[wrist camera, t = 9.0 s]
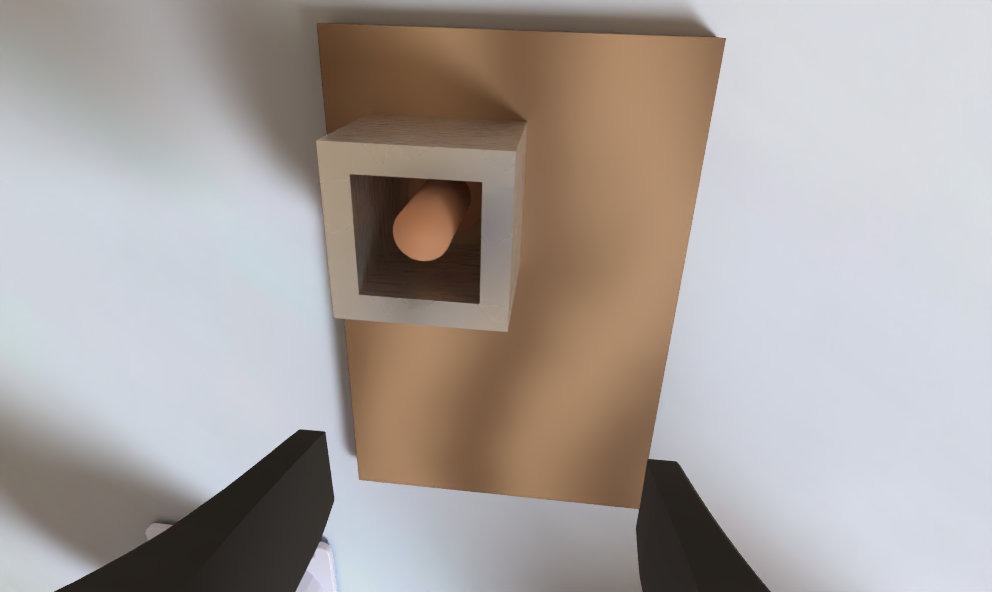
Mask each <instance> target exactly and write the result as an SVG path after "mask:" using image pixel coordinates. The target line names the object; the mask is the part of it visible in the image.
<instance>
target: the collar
mask: <svg viewBox="0 0 992 592" xmlns="http://www.w3.org/2000/svg"><path fill="white" fill-rule="evenodd" d="M526 135H527V121H510V120H491V119H471V118H451V117H432V116H412V115H392V114H373V113H370V114H368V115H366V116H364V117H362V118H360V119H358V120H356V121H354V122H352V123H350V124H348V125H346V126H344V127H342V128H340V129H338V130H336V131H334V132H332V133H330V134H328V135H326V136H324V137H322V138H320V139H318V140H316V147H317V157H318V167H319V177H320V187H321V197H322V207H323V217H324V227H325V237H326V247H327V257H328V267H329V277H330V287H331V297H332V307H333V316H334V318H341V319H353V320H366V321H378V322H390V323H402V324H415V325H427V326H439V327H452V328H464V329H476V330H488V331H501V332H508V327H509V322H510V316H511V311H512V306H513V300H514V295H515V290H516V284H517V279H518V274H519V266H520V248H521V229H522V210H523V192H524V173H525V154H526ZM398 177H406V178H422V179H439V180H456V181H472V182H482V222H481V245H472V244H458V243H450V245H449V246H448V248H447V250H446V251H445V253H444V254H443V255H441V256H440V257H438V258H436V259H434V260H430V261H419V260H415V259H412V258H410V257H408V256H407V255H405V254H404V253H403V252H402V251H401V250H400V249H399V247H398V246H397V244H396V242H395V240H394V236H393V225H394V221H395V219H396V217H397V216H398V214H399V200H398Z"/></svg>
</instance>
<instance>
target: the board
mask: <svg viewBox="0 0 992 592" xmlns="http://www.w3.org/2000/svg"><path fill="white" fill-rule="evenodd" d="M317 32H318V43H319V54H320V64H321V75H322V86H323V97H324V107H325V118H326V129H327V135H328V134H330V133H332V132H334V131H336V130H338V129H340V128H342V127H344V126H346V125H348V124H350V123H352V122H354V121H356V120H358V119H360V118H362V117H364V116H366V115H368V114H370V113H373V114H392V115H412V116H432V117H451V118H471V119H491V120H510V121H527V135H526V154H525V173H524V192H523V210H522V229H521V248H520V266H519V274H518V279H517V284H516V290H515V295H514V300H513V306H512V311H511V316H510V322H509V327H508V332H501V331H488V330H476V329H464V328H452V327H439V326H427V325H415V324H402V323H390V322H378V321H366V320H353V319H344V323H345V333H346V344H347V355H348V366H349V376H350V387H351V398H352V409H353V419H354V430H355V441H356V452H357V463H358V473H359V480H366V481H375V482H385V483H395V484H404V485H414V486H423V487H433V488H443V489H452V490H462V491H471V492H481V493H491V494H500V495H510V496H519V497H529V498H539V499H548V500H558V501H567V502H577V503H587V504H596V505H606V506H615V507H625V508H635V509H639V506H640V501H641V495H642V489H643V483H644V477H645V471H646V465H647V459H648V457H649V452H650V447H651V441H652V436H653V430H654V425H655V420H656V414H657V409H658V403H659V398H660V392H661V387H662V382H663V376H664V371H665V365H666V360H667V355H668V349H669V344H670V338H671V333H672V328H673V322H674V317H675V311H676V306H677V300H678V295H679V290H680V284H681V279H682V273H683V268H684V263H685V257H686V252H687V246H688V241H689V235H690V230H691V225H692V219H693V214H694V208H695V203H696V198H697V192H698V187H699V181H700V176H701V170H702V165H703V160H704V154H705V149H706V143H707V138H708V133H709V127H710V122H711V116H712V111H713V106H714V100H715V95H716V89H717V84H718V78H719V73H720V68H721V62H722V57H723V51H724V46H725V41H726V38H719V37H696V36H669V35H641V34H614V33H587V32H559V31H532V30H504V29H477V28H450V27H422V26H395V25H367V24H340V23H317ZM410 179H411V178H406V177H398V200H399V213H400V212H401V211H402V210H403V209H404V207H405V206H406V205H407V204H408V203H409V199H408V186H409V182H410ZM481 222H482V215H481V217H480V219H479V220H478V221H477V222H476V223H475V224H474V225H473V226H472V227H470V228H469V229H467V230H465V231H462V232H459V233H455V235H454V237H453V239H452V241H451V243H458V244H472V245H481Z"/></svg>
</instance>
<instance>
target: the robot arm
mask: <svg viewBox="0 0 992 592" xmlns="http://www.w3.org/2000/svg"><path fill="white" fill-rule="evenodd" d="M333 502H334V493H333V486H332V478H331V471H330V463H329V456H328V448H327V441H326V434H325V432H324V431H312V430H300V429H299V430H298V431H297V432H296V433H294V434H293V435H292V436H290V437H289V438H288V439H287V440H285V441H284V442H283V443H282V444H280V445H279V446H278V447H277V448H275V449H274V450H273V451H272V452H271V453H269V454H268V455H267V456H266V457H264V458H263V459H262V460H261V461H259V462H258V463H257V464H256V465H254V466H253V467H252V468H251V469H249V470H248V471H247V472H245V473H244V474H243V475H242V476H240V477H239V478H238V479H236V480H235V481H234V482H233V483H231V484H230V485H229V486H228V487H226V488H225V489H224V490H222V491H221V492H219V493H218V494H217V495H215V496H214V497H212V498H211V499H210V500H208V501H207V502H205V503H204V504H203V505H201V506H200V507H198V508H197V509H196V510H194V511H193V512H192V513H190V514H189V515H187V516H186V517H185V518H183V519H182V520H180V521H179V522H177V523H176V524H174V525H169V524H160V523H153V524H151V525H150V526H149V527H148V528H147V530H146V531H145V534H146V537H147V540H148V541H147V542H145V543H144V544H142V545H140V546H139V547H137V548H136V549H134V550H132V551H130V552H129V553H127V554H125V555H123V556H122V557H120V558H118V559H116V560H114V561H112V562H110V563H109V564H107V565H105V566H103V567H101V568H99V569H97V570H96V571H94V572H92V573H90V574H88V575H86V576H84V577H83V578H81V579H79V580H77V581H75V582H73V583H71V584H69V585H67V586H65V587H63V588H61V589H59V590H57V591H54V592H337V584H336V576H335V568H334V561H333V553H332V549H331V547H330V546H329V545H328V544H326V543H324V542H320V540H321V537H322V534H323V532H324V529H325V526H326V523H327V520H328V517H329V514H330V511H331V508H332V505H333ZM636 535H637V549H638V562H639V574H640V580H641V586H642V591H643V592H770V590H769V589H768V588H767V587H766V586H765V584H764V583H763V582H762V581H761V580H760V578H759V577H758V576H757V575H756V573H755V572H754V571H753V570H752V568H751V567H750V566H749V565H748V564H747V562H746V561H745V560H744V558H743V557H742V556H741V555H740V553H739V552H738V551H737V549H736V548H735V547H734V545H733V544H732V543H731V541H730V540H729V538H728V537H727V536H726V534H725V533H724V532H723V530H722V529H721V527H720V526H719V525H718V523H717V522H716V520H715V519H714V518H713V516H712V515H711V513H710V512H709V510H708V509H707V507H706V506H705V504H704V503H703V501H702V500H701V498H700V497H699V495H698V494H697V492H696V490H695V489H694V487H693V486H692V484H691V482H690V481H689V479H688V478H687V476H686V474H685V473H684V471H683V469H682V468H681V466H680V465H679V464H678V463H677V462H676V461H664V460H653V459H647V465H646V471H645V477H644V483H643V489H642V495H641V502H640V508H639V514H638V520H637V526H636Z"/></svg>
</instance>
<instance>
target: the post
mask: <svg viewBox="0 0 992 592" xmlns="http://www.w3.org/2000/svg"><path fill="white" fill-rule="evenodd" d="M408 199H409V203H408V204H407V205H406V206H405V207H404V209H403V210H402V211H401V212H400V213H399V214H398V216H397V217H396V219H395V221H394V225H393V236H394V240H395V242H396V244H397V246H398V247H399V249H400V250H401V251H402V252H403V253H404V254H405V255H407V256H408V257H410V258H412V259H415V260H419V261H430V260H434V259H436V258H438V257H440V256H441V255H443V254H444V253H445V251H446V250H447V248H448V246H449V245H450V243H451V241H452V239H453V237H454V235H455V233H459V232H462V231H465V230H467V229H469V228H470V227H472V226H473V225H474V224H475V223H476V222H477V221H478V220H479V219H480V217H481V215H482V182H472V181H456V180H439V179H422V178H411V179H410V182H409V186H408Z"/></svg>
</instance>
